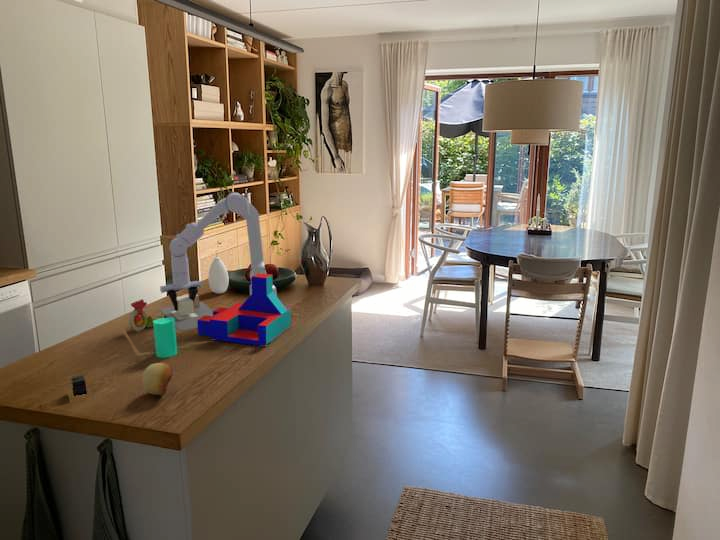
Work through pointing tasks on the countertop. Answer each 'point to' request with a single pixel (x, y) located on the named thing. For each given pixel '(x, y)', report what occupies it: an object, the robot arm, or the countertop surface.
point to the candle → (165, 337)
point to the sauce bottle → (218, 276)
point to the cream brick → (185, 305)
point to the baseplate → (187, 316)
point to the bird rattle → (139, 321)
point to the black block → (78, 385)
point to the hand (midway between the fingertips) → (183, 308)
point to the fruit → (157, 378)
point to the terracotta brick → (196, 301)
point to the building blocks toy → (249, 316)
